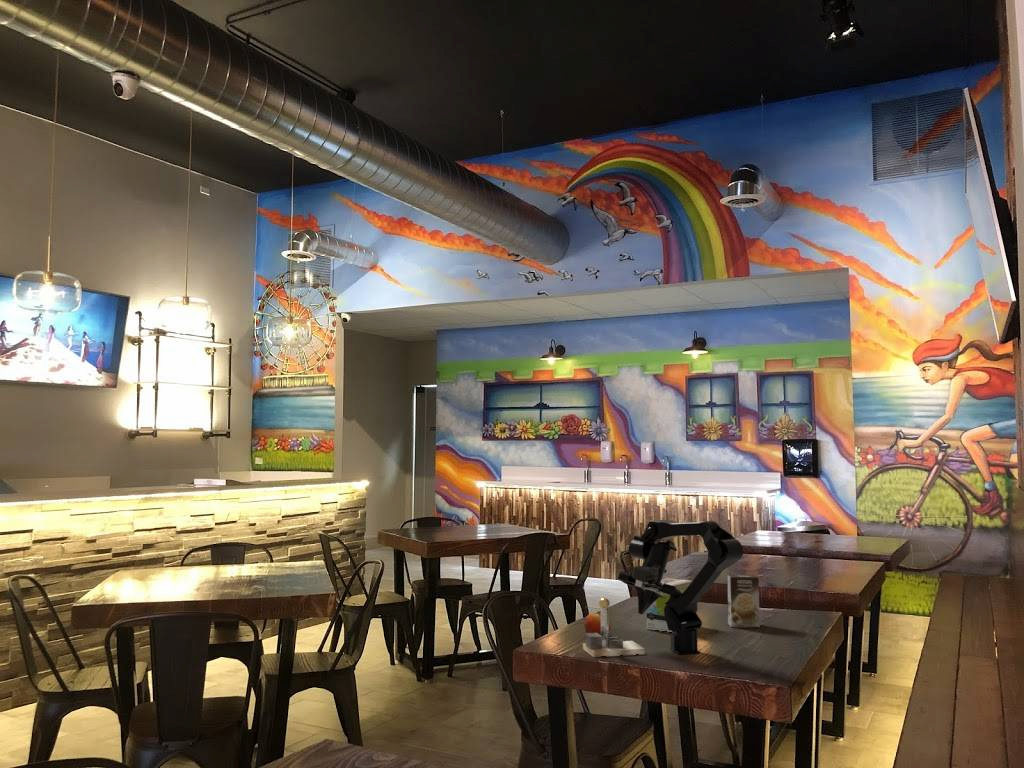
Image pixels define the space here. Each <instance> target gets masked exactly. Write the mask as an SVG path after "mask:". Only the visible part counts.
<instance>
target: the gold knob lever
mask: <svg viewBox="0 0 1024 768" xmlns="http://www.w3.org/2000/svg"><path fill="white" fill-rule="evenodd" d="M610 603H611V602H610V600H609V599H608V598H606V597H601V598H600V599H599V601H598V605H599V607H600V615H601V636H602V647H608V640H609V637H610V636H609V635H610V634H609V633H610V631H609V625H608V621H609V606H610Z"/></svg>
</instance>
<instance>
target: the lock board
mask: <svg viewBox="0 0 1024 768" xmlns="http://www.w3.org/2000/svg"><path fill="white" fill-rule="evenodd" d="M584 635H585V637H584V638H585V643H582V650H584V651H585V652H587V654H589V655H590V656H592V657H593V658H601V656H606V657H620V655H623V656H635V655H636V654H639V655H646V648H645V647H643V646H642V645H640V644H638V643H636V642H635V641H633V640H625V641H624V640H623V639H619V636H609V640H608V647H602V636H601V635H599V634H598V633H586V632H585V633H584Z"/></svg>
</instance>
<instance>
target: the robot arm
mask: <svg viewBox="0 0 1024 768" xmlns="http://www.w3.org/2000/svg"><path fill="white" fill-rule="evenodd" d="M647 523H648V524H647V525H646V528H645V530H644V531H643V533H642V535H640V534H638V535H633V539H632V540H631V542H630V543H629V546H628V554H629V556H631V557H632V558H635V559H638V560H639V559H640V560H643V563H642V565H637V566H636V565H635V566H633V569H632V573H630V572H627V571H623V570H622V571H620V572H619V573H618V576H617V578H616V580H618V581H620V582H621V583H623V584H626V585H628V586H632V587H633V588H634V589H635V591H636V594H637V604H638V605H637V606H638V609H637V611H638V614H639V615H641V616H642V615H643V614H644V613H645V612H647V609H648V608H649V607H650V605H651V604H652V603H653V602H655V601H656V600H657V599H658V598H659V597H660V598H662V596H661V594H662V592H663V593H665V594H668V595H670V598H669V600H668V601H667V602H666V603H665V604H666V606H665V608H664V615H665V619H666V623H667V627H668V630H671V631H672V633H670V647H669V649H670V651H672V650H673V651H672V652H674V653H676V654H677V655H689V654H690V655H691V654H700V653H701V651H700V650H699V649H698V630H701V628H702V624H703V622H702V620H701V617H699V616H698V614H697V611H698V603H699V602H700V601H701V599H702V598H703V597H704V596H705V594H706V593H707V592H708V590H709V589H710V587H711V586H712V585H713V584H714V582H716V580H717V579H718V577H720V575H721V573H722V572H723V571H724V570H727V569H728V568H729V567H731V566H733V565H735V564H736V563H737V562H738V561H739V560H740V559H742V558H743V556H744V548H743V545H742V543H741V542H740V541H739V540H738V539H736V537H734V535H732V533H729V532H728V531H727V530H725V529H724V528H723V527H721V526H720V525H719V524H718V522H716V521H714V520H705V521H704V520H702V521H692V522H677V521H675V520H671V519H654V520H653V519H652V520H649V521H648V522H647ZM678 536H680V537H681V536H701V537H702V539H703V540H702V541H703V544H704V546H705V547H706V549H707V550H708V552H707V561H706V562H705V563H704V564H703V566H702V567H701V569H700V570H699V571H698V572H697V574H696V576H694V578H693V579H692V580H691V581H692V582H691V583H690V585H689V586H688V587H687V588H686V590H685V591H684V592H683V593H682V592H681V590H680V589H678V588H677V587H675V586H672V585H668V584H665V583H664V584H663V585H662V583H661V580H662V579H663V577H664V574H667V571H668V570H667V569H666V567H667V564H668V561H669V557H670V555H671V551H673V552H677V551H678V549H677V547H676V545H675V543H674V542H673V541H671V540H670V539H673V538H676V537H678ZM665 540H667V541H665ZM664 541H665V542H664ZM652 584H653V585H652ZM647 588H650V589H649V590H648V589H647ZM683 622H686V623H683ZM682 623H683V624H682Z"/></svg>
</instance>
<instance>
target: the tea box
mask: <svg viewBox="0 0 1024 768" xmlns="http://www.w3.org/2000/svg"><path fill="white" fill-rule="evenodd" d="M692 581H693V580H689V579H681V578H679V579H678V578H673V577H672V578H669V577H667V578H662V580H661V583H662V585H663V584H664V583H665V584H668V585H672V586H675V587H677V588H678V589H680V590H681V592H682V593H683V592H684V591H685V590H686V588H687V587H688V586H689V585H690V583H691V582H692ZM652 585H653V584H652ZM647 589H648V590H649V589H650V588H647ZM661 596H662V598H660V597H659V598H658V599H657V600H656V601H655V602H653V603H652V604H651V605H650V607H649V608H648V609H647V610H646V629H647V630H650V631H655V630H659V631H658V632H662V631H667V632H666V633H669V632H672V631H671V630H668V627H667V623H666V619H665V615H664V608H665V606H666V604H665V603H666V602H667V601H668V600H669V598H670V595H668V594H665V593H663V592H662V594H661ZM683 623H686V622H683ZM683 623H682V624H683Z"/></svg>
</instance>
